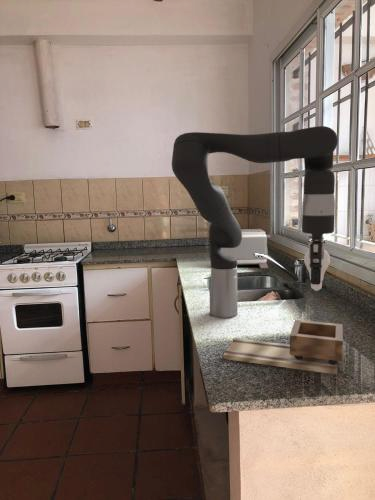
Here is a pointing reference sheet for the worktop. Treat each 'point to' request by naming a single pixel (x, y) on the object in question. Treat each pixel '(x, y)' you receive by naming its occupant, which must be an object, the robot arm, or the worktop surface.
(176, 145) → the robot arm
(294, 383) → the worktop surface
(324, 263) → the lightbulb
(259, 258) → the toaster
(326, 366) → the track
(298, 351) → the open wooden crate
